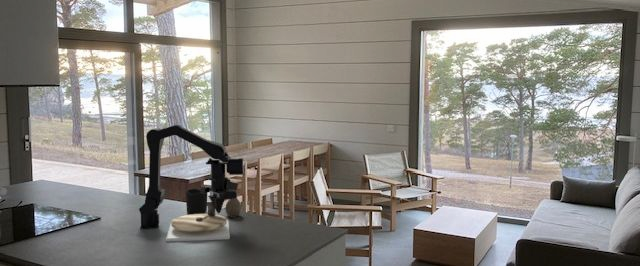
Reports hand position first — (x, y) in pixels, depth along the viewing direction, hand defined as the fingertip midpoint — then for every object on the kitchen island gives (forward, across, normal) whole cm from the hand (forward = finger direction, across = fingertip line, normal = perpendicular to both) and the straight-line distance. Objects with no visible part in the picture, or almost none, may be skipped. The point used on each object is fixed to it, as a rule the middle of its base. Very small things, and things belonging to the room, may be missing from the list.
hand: (218, 213), depth 212 cm
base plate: (+6, -1, +10) cm, 11 cm away
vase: (+6, +11, -14) cm, 18 cm away
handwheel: (+4, -1, +9) cm, 10 cm away
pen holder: (+5, +26, -4) cm, 27 cm away
